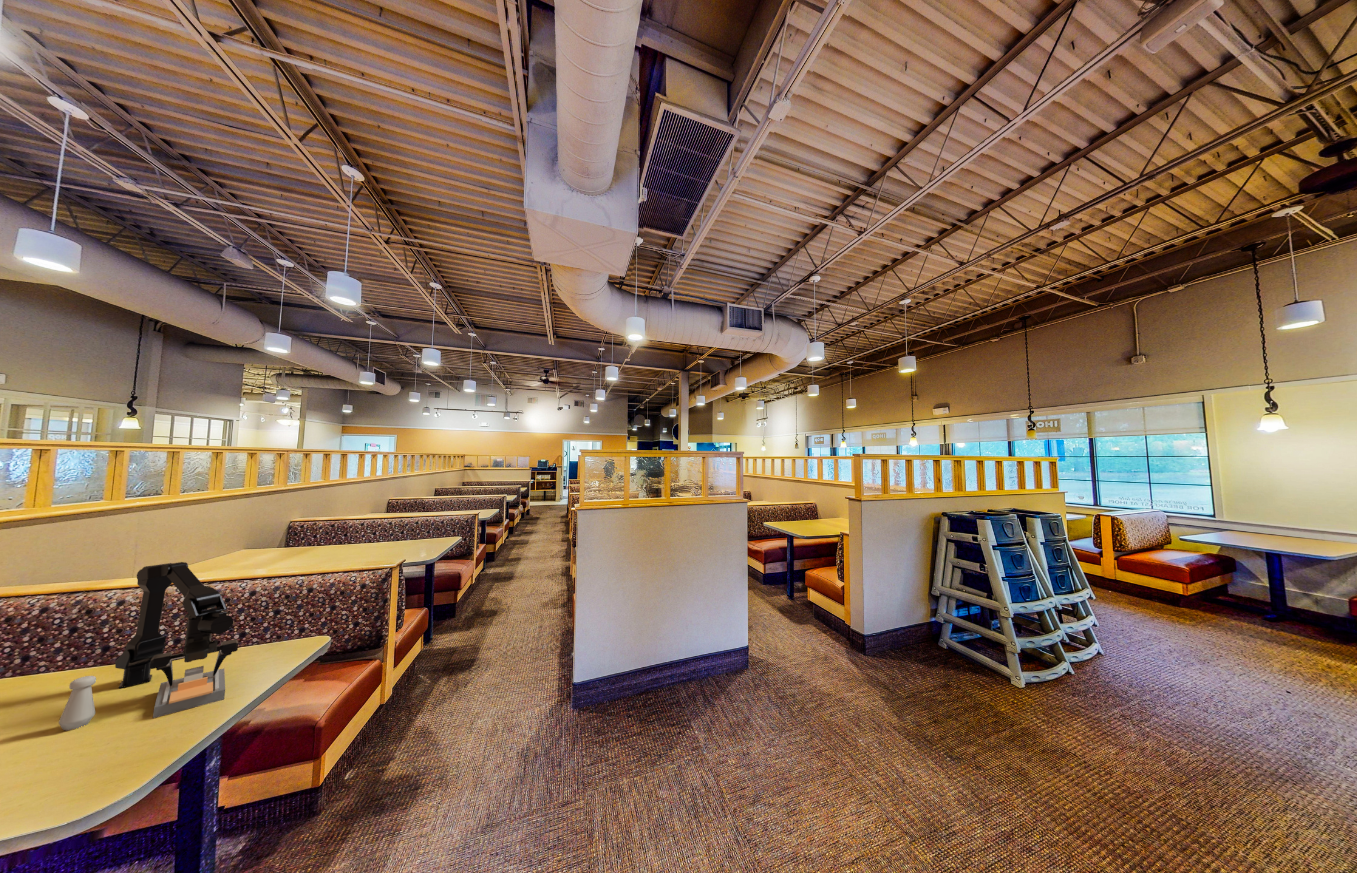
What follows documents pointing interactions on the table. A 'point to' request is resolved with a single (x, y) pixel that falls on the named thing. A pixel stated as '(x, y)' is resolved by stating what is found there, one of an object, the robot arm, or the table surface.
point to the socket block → (165, 691)
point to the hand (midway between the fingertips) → (193, 680)
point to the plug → (193, 673)
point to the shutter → (191, 690)
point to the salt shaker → (79, 704)
